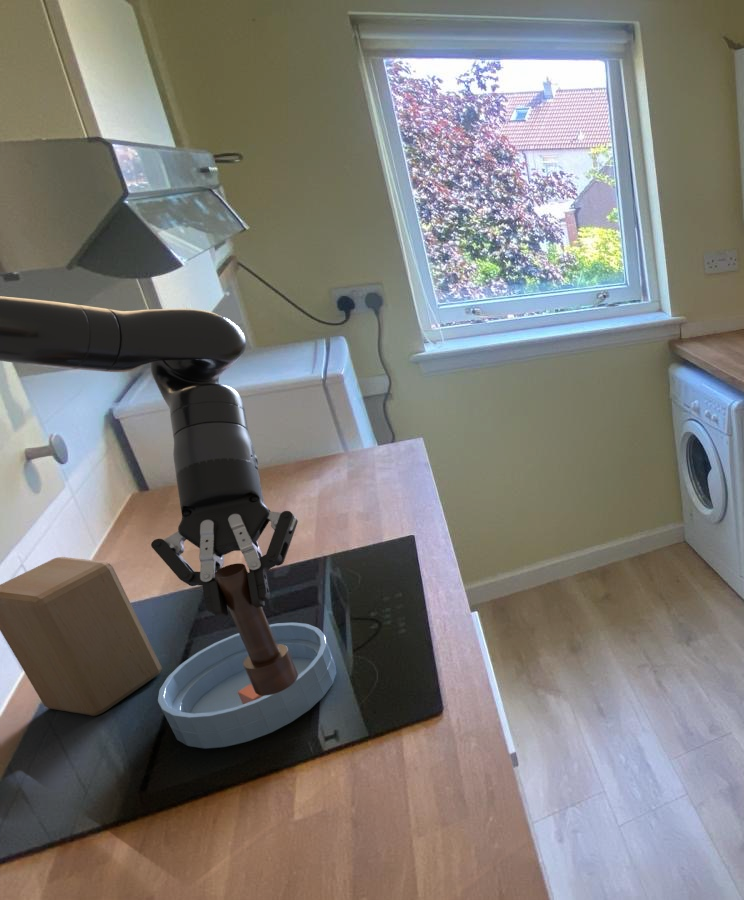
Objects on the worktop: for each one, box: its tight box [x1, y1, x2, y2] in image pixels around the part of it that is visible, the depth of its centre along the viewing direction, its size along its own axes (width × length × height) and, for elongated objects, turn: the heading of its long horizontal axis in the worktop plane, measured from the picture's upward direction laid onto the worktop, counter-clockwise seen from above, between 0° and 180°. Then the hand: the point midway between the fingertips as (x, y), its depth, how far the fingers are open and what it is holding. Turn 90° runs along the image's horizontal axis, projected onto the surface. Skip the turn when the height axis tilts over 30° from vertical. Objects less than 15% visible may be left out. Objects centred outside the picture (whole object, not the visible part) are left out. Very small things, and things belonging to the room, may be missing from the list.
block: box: [238, 684, 263, 704], centre depth 102 cm, size 4×4×4 cm
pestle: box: [214, 562, 298, 696], centre depth 84 cm, size 4×4×16 cm
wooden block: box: [0, 556, 163, 717], centre depth 103 cm, size 10×10×20 cm
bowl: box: [157, 621, 338, 749], centre depth 104 cm, size 19×19×6 cm
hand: (240, 609), depth 81 cm, fingers closed on pestle, 3 cm apart
